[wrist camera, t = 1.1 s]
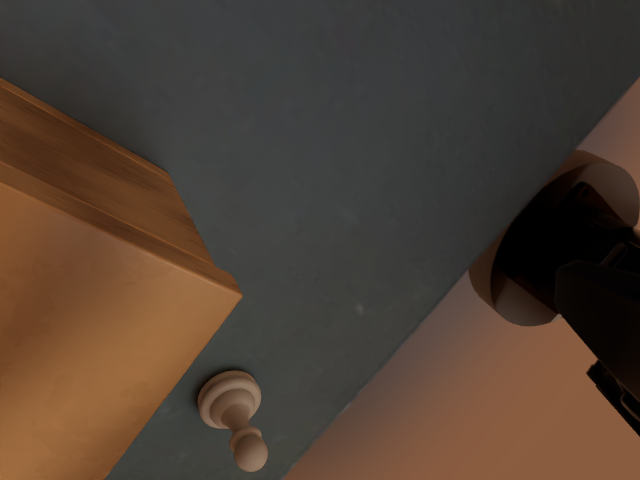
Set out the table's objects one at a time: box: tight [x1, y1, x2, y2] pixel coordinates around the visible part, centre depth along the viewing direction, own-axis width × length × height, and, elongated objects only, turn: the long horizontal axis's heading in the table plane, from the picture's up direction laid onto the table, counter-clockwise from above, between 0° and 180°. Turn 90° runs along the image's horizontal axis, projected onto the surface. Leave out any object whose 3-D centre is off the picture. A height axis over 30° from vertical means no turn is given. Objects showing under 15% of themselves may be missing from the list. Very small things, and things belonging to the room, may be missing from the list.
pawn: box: [197, 370, 268, 472], centre depth 23 cm, size 3×3×4 cm
